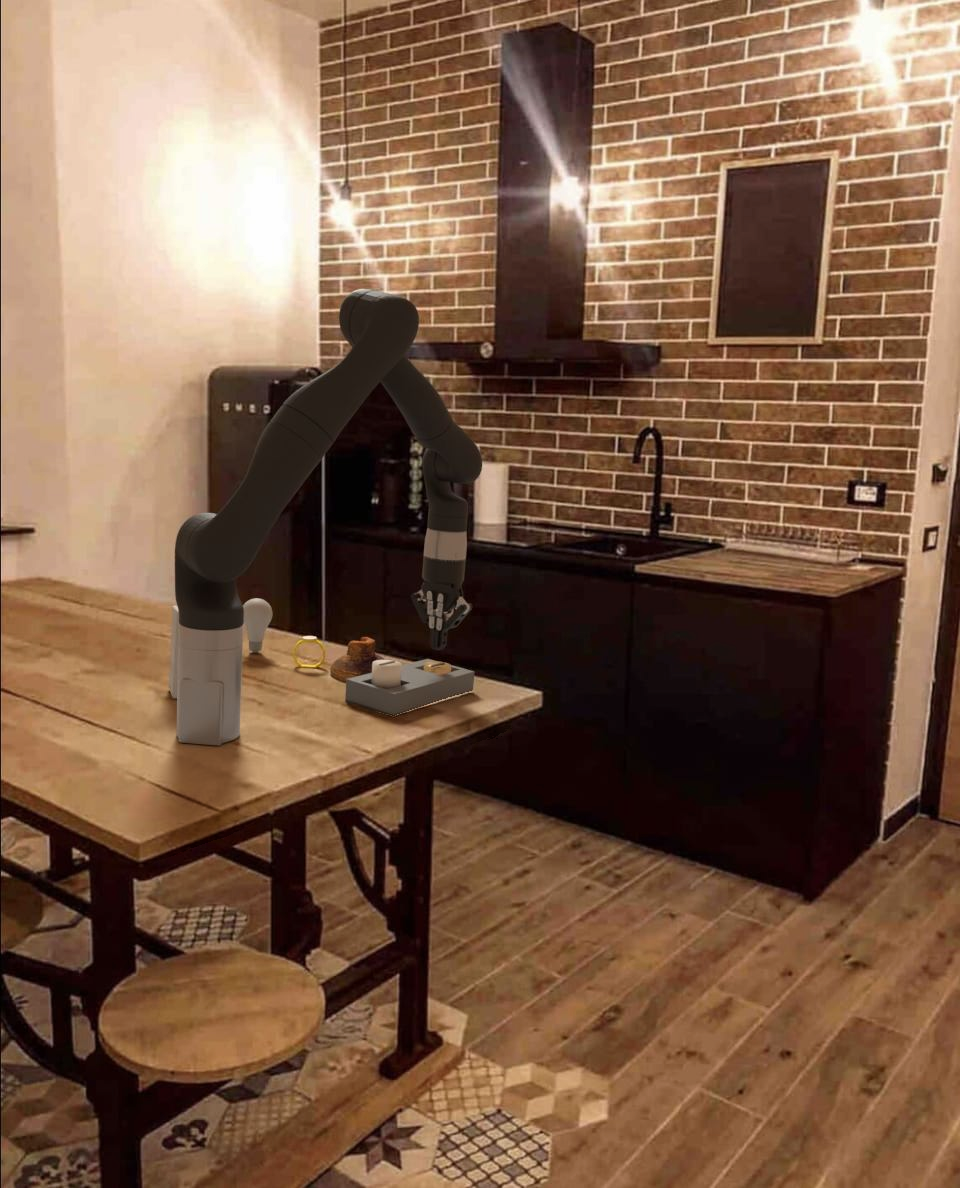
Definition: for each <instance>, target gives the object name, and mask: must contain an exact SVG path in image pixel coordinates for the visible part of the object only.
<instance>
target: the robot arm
mask: <svg viewBox="0 0 960 1188" xmlns="http://www.w3.org/2000/svg"><path fill="white" fill-rule="evenodd" d="M338 314H339V315H338V324H339V329H340V331H341V333H342V336H343V337H344V339H345V340H346V341H347V343H348V344H349V345H350V346H351V349H350V350H349V351H348V352H347V354H346V355H345V356H344V357H343V358H342V359H341V360H340V361H339V362H338V363H337V364H336V365H334V366H333V367H332V368H330V369H329V370H327V371H325V372H324V373H322V374H320V375H319V376H317V377H315V378H314V379H312V380H311V381H308V382H307V383H305V384H304V385H302V386H301V387H300V388H299V389H297V390H295V391H294V392H293V393H292V394H291V395H290V396H288V397H287V399H285V401H284V402H283V404H282V405H281V406H280V407H279V408H278V410H277V411H276V412H275V414H274V415H273V417H272V418H271V419H270V421H269V422H268V423H267V425H265V426H266V427H265V429H263V431H262V433H261V435H260V436H259V439H258V441H257V443H256V447H255V449H254V452H253V455H252V458H251V460H250V464H249V465H248V469H247V472H246V474H245V477H244V479H243V480H242V481H241V484H240V485H239V487H238V488H237V490H236V491H235V493H233V495H231V497H230V498H229V500H228V501H227V502H226V503H225V505H224V506H223V507H222V508H220V510H219V512H218V513H213V512H201V513H197V514H194V515H192V516H190V517H189V518H188V519H186V520H185V521H184V522H183V524H182V525H181V526H180V527H179V530H178V532H177V535H176V539H175V544H174V545H175V546H174V596H175V601H176V602H175V603H176V606H178V610H179V644H178V685H177V698H176V699H177V700H176V736H177V738H178V742H179V743H184V744H185V743H186V744H194V745H195V744H197V745H205V746H206V745H209V746H221V745H222V744H224V743H228V742H231V741H233V740H234V741H235V740H236V739H237V738H238V737H239V736H240V734H241V708H242V707H241V706H242V704H241V703H242V702H241V701H242V677H243V676H242V675H243V674H242V673H243V650H244V649H243V647H244V608H243V605H244V604H243V602H242V600H241V598H240V596H239V593H238V588H237V587H238V586H237V578H239V577H240V576H242V575H243V573H245V572H246V571H247V569H248V568H249V567H250V566H251V564H252V563H253V561H254V560H255V558H256V557H257V554H258V553H259V551H260V549H261V547H262V546H263V544H264V543H265V540H266V539H267V537H268V535H269V534H270V532H271V530H272V529H273V527H274V524H276V522H277V520H278V518H279V517H280V515H281V514H282V512H283V511H284V509H285V508H286V507H287V505H288V504H289V503H290V502H291V501H292V499H293V498H294V496H295V495H296V493H298V491H299V490H300V488H302V486H303V484H304V483H305V481H306V480H307V479H308V478H309V476H310V475H311V474H312V472H313V471H314V469H315V468H317V466H318V465H319V463H320V462H321V460H322V459H323V458H324V457H325V455H326V453H327V452H328V451H329V450H330V448H331V447H332V445H333V444H334V442H335V441H336V440H337V438H339V435H340V434H341V432H342V431H343V429H344V428H345V426H347V424H348V423H349V421H350V420H351V419H352V418H353V417H354V415H355V414H356V413H357V411H358V410H359V408H360V407H361V406H362V405H363V403H364V401H365V400H366V399H367V398H368V397H369V396H370V394H371V393H372V391H373V390H374V389H375V388H376V387H377V386H378V385H379V384H381V385H382V386H383V387H384V389H385V390H386V392H387V393H388V394H389V396H390V397H391V399H392V401H393V402H394V403H395V405H396V407H397V408H398V409H399V411H400V413H401V415H402V416H403V418H404V420H405V421H406V424H407V426H408V427H409V428H410V430H411V433H412V434H413V436H414V437H415V439H416V441H417V442H418V443H419V445H420V446H422V447H423V448H425V450H424V453H423V457H422V461H421V463H422V465H421V467H422V474H423V479H424V480H423V481H424V484H425V485H424V486H425V491H426V497H427V501H428V502H427V503H428V514H427V525H426V526H427V529H426V534H425V538H424V548H423V560H422V561H423V563H422V574H421V577H422V579H423V583H422V585H421V589H420V590H418V591H417V592H414V593H412V594H411V595H410V599H411V601H412V603H413V606H414V607H415V609H416V611H417V614H418V616H419V619H420V620H421V622H422V623H423V624H427V625H428V626H429V628H430V633H429V634H430V635H429V645H430V648H431V649H432V650H436V651H441V650H444V649H445V647H446V646H447V641H448V631H449V630H450V629H453V628H457V627H458V626H459V625H460V624H461V622H462V621H463V620H464V619H465V618H466V617H467V615H468V614H469V613H470V612H471V611H472V609H473V607H474V606H473V604H472V603H471V602H470V603H468V602H467V601H466V600H465V598H464V591H463V589H462V588H463V587H462V585H463V583H464V582H465V571H466V561H467V560H466V559H467V548H468V543H467V542H468V539H467V532H468V531H467V529H468V520H469V519H468V517H469V503H468V501H467V500H466V499H465V498H463V497H461V496H459V495H457V494H455V493H454V492H453V490H452V487H451V483H453V484H460V485H461V484H462V485H469V484H472V483H474V482H475V481H477V479H479V477H480V476H481V473H482V470H483V459H482V458H483V457H482V454H481V452H480V449H479V447H478V446H477V445H476V443H475V441H473V440H472V438H471V437H470V436H469V435H468V434H467V433H466V432H465V431H464V430H463V429H462V427H460V425H459V424H457V423H456V422H455V421H454V420H453V418H452V416H451V414H450V412H449V409H448V408H447V406H446V403H445V402H444V400H443V399H442V397H441V395H440V394H439V392H438V391H437V389H436V388H435V387H434V386H433V384H432V383H431V382H430V380H429V379H427V378H426V377H425V376H424V375H423V373H421V371H420V370H419V369H418V368H417V367H416V366H415V365H414V364H413V362H412V361H411V360H410V359H409V358H408V356H406V353H407V352H408V351H409V350H410V348H411V347H412V345H413V344H414V341H415V340H416V338H417V335H418V331H419V325H420V316H419V311H418V309H417V307H416V305H415V304H413V302H412V301H411V300H409V299H407V298H406V297H405V298H404V297H402V296H400V295H396V294H392V293H388V292H384V291H380V290H376V289H371V288H358V289H356V290H354V291H352V292H350V293H348V295H346V297H345V298H344V299H343V301H342V303H341V305H340V308H339V313H338Z"/></svg>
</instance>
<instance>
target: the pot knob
mask: <svg viewBox="0 0 960 1188" xmlns="http://www.w3.org/2000/svg"><path fill="white" fill-rule="evenodd" d="M402 665H403V664H402V662H400V661H397V660H392V659H385V660H376V661H373V663H372V680H371V684H372V685H375V686H378V687H381V688H385V689H391V688H394V687H398V686H400V685H401V670H402Z"/></svg>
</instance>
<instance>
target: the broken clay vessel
mask: <svg viewBox="0 0 960 1188" xmlns="http://www.w3.org/2000/svg"><path fill="white" fill-rule="evenodd" d="M376 660H386V659H385V658H384V657H382V656H381V655H379V654H376V640H375V639H372V638H370V637H368V636H362V637H361V638H360V641H359V640H351V641H349V643H348V644H347V650H346V654H345V655H342V656H340V657H339V658H337V659H336V660H334V661H333V662H332V664H331V665H330V667H329V669H330V670H329V671H330V674H331V676H332V677H333V678H335V679H336V680H338V681H342V682H346V679H349V678H353V677H357V676H361V675H365V674H369V673H372V663H373V661H376Z"/></svg>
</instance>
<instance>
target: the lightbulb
mask: <svg viewBox="0 0 960 1188" xmlns="http://www.w3.org/2000/svg"><path fill="white" fill-rule="evenodd" d="M242 605H243V608H244V623H243V626H244V627H245V630H246V634H247V641H248V650H249V651H250V652H252V654H253V653H254V654H257V653H259V652H260V651H262V650H263V649H262V648H263V641H264V639H265V634H266V630H267V628H268V626H270V623H271V621H272V619H273V613H274V612H273V609H272V606H271V605H270V603H269V602H267V601H266V600H265V599H263V598H257V597H255V598H250V599H249V600H247V601H246V602H244V604H242Z"/></svg>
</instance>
